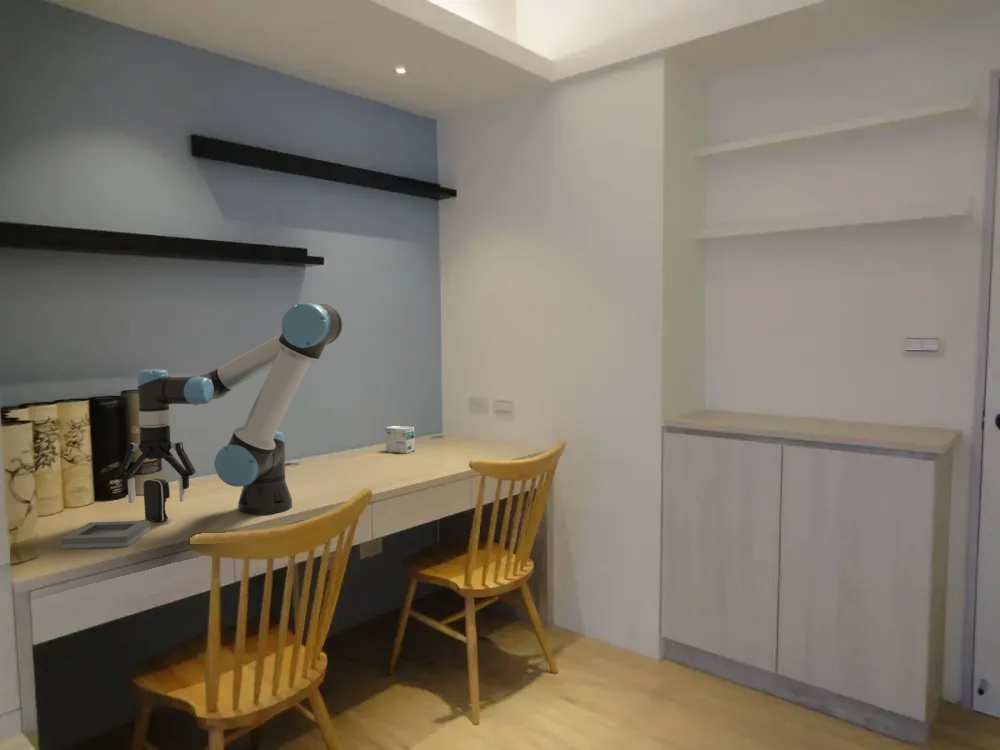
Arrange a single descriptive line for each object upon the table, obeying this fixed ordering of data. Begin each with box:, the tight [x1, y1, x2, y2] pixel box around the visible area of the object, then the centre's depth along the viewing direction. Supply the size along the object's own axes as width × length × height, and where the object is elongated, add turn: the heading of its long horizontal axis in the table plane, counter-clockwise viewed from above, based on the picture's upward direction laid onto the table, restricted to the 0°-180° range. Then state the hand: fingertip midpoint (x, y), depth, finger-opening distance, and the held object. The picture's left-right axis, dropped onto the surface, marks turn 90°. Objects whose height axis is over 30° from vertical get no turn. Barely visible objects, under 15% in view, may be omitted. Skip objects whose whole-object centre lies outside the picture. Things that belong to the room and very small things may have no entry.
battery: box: [143, 478, 171, 523], centre depth 193 cm, size 7×4×11 cm, turn 63°
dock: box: [61, 520, 151, 550], centre depth 176 cm, size 15×14×2 cm
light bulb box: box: [385, 425, 416, 454], centre depth 297 cm, size 11×7×11 cm, turn 66°
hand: (157, 501), depth 193 cm, fingers open, 13 cm apart
